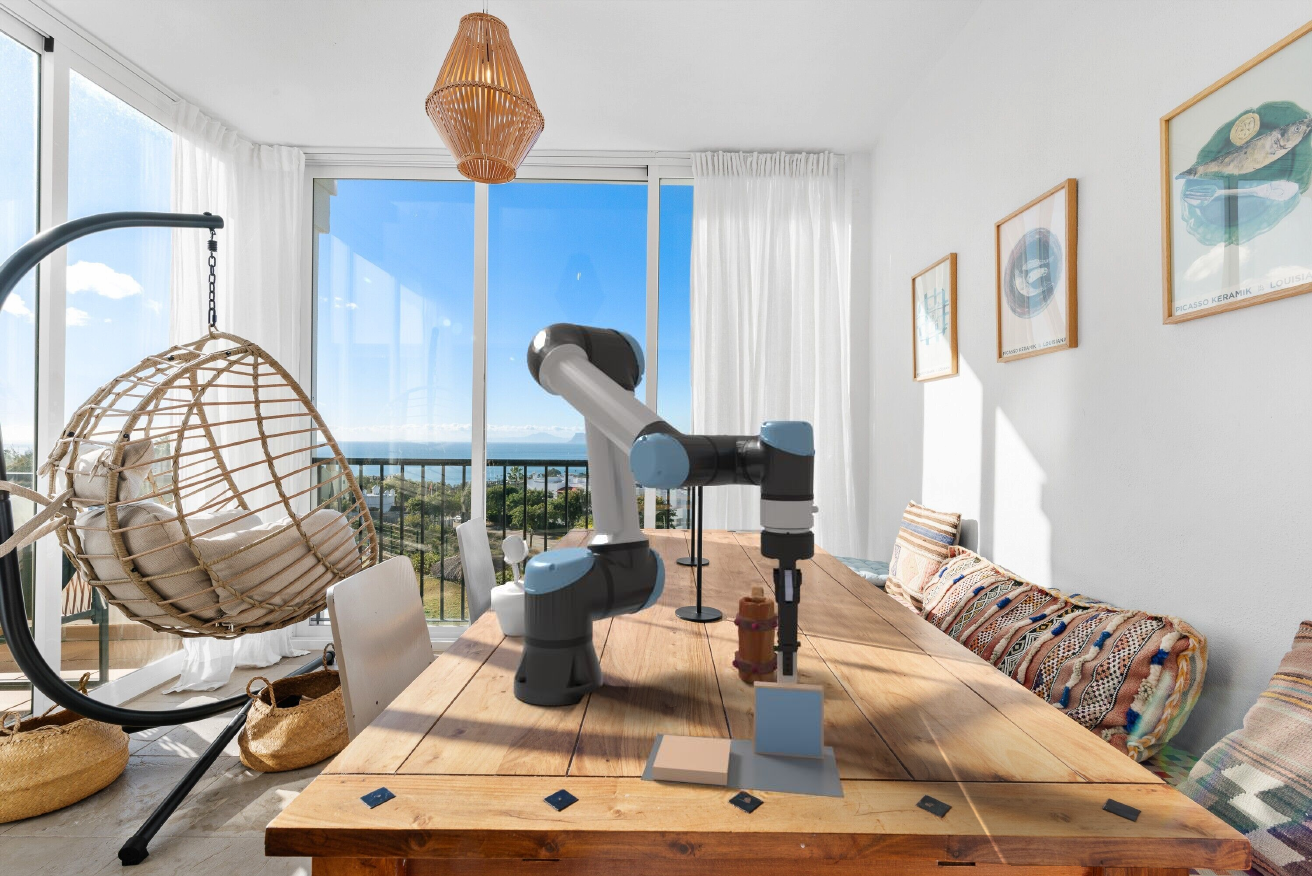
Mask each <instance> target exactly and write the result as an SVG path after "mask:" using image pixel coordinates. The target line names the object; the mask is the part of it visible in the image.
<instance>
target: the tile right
mask: <svg viewBox="0 0 1312 876" xmlns="http://www.w3.org/2000/svg"><path fill="white" fill-rule="evenodd" d="M824 690H825V689H824V686H823V685H822V684H805V683H804V684H803V683H797V684H792V683H777V682H775V681H774V682H771V681H767V682H759V681H754V683H753V741H754V753H756V754H769V755H781V756H794V757H807V758H820V759H824V746H825V745H824V744H825V743H824V739H825V738H824V736H825V735H824V732H825V728H824V727H825V725H824V720H825V719H824V716H825V713H824V712H825V711H824V710H825V709H824V707H825V706H824V705H825V703H824V702H825V701H824V699H825V698H824V697H825V696H824V695H825V694H824V692H825V691H824Z"/></svg>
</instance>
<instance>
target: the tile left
mask: <svg viewBox="0 0 1312 876" xmlns="http://www.w3.org/2000/svg"><path fill="white" fill-rule="evenodd" d="M675 735H676V734H670V735H664V736H663V739H662V742H661V745H660V748H659V751H658V753H657V756H656V759H655V762H654V765H653V779H658V780H669V781H681V782H692V783H704V784H715V785H727V781H728V772H729V764H730V755H731V740H728V739H729V738H723V739H715V738H716V737H710V738H701V737H702V736H697V737H688V736H689V735H684V736H675Z"/></svg>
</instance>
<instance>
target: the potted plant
mask: <svg viewBox="0 0 1312 876" xmlns="http://www.w3.org/2000/svg"><path fill="white" fill-rule="evenodd" d="M530 533H531V534H533V530H531V532H530ZM537 547H540V542H539V541H538V546H537ZM534 549H536V544H535V545H534ZM501 550H502V551H503V554H504V558H503V561H504V562H505V563H506V564H507V565H511V568H512V573H513V581H506V583H505V584H503V585H498V586H495V587H492V589H491V590H490V602H491V603H490V609H491V610H493V611H494V612H495V615H496V618H497V619H498V624H499V627H500V629H501V632H502V633H503V634H505V635H506V636H508V637H524V587H523V584H524V580H520V571H519V566H518V563H521V562H522V561H524V560H525V559H526V557H527V556H528V555H529V553H530V550H529V547H528V545H527V540H526V539H525V540H523V538H522V536H520V535H519V534H513V535H508V536H507V537H506V538H505V539H503V540H502V544H501Z"/></svg>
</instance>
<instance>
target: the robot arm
mask: <svg viewBox="0 0 1312 876" xmlns="http://www.w3.org/2000/svg"><path fill="white" fill-rule="evenodd" d="M526 364H527V369H528V371H529V373H530V375H531V377H532V378H533V380H534V381H535V382H536V384H538V386H540V387H541V388H542V389H543V390H545V392H547V393H549V394H550V395H553V396H559V397H561V398H562V399H564V400H565V402H567V403H568V404H569V405H570V406H572V407H573V409H575V410H576V411H577V412H578V413H579V414H581V415H582V416H583V417H584V429H585V440H586V441H585V442H586V454H587V464H588V465H587V466H588V475H589V476H588V477H589V486H590V487H589V489H590V499H591V510H592V525H593V536H592V537H591V538H590V539H589V540H588V542H587V543H586V546H587V547H586V548H585V547H579V546H578V547H577V546H576V547H575V546H574V547H565V548H555V549H550V550H547V551H543V552H540V553H537V554H536V555H534V556H532V557H531V558H530V559H529V560H528V561H527V563H526V564H525V569H524V578H523V579H524V580H523V581H524V584H523V587H524V636H523V637H524V638H523V639H524V643H523V644H524V645H523V649H522V652H521V654H520V658H519V660H518V665H517V667H516V670H515V673H514V676H513V694H514V696H515V697H516V698H517V699H518V700H520V701H523V702H526V703H528V704H533V705H541V706H565V705H566V706H567V705H572V704H577V703H581V702H582V700H583V698H584V697H585V696H586V695H589V694H590V693H593V692H595V691H597V690H598V689H600V688H601V687H602V686H604V683H603V682H604V675H603V671H602V667H601V665H600V662H599V658H598V655H597V652H596V648H595V645H594V640H593V639H594V638H593V637H594V636H593V635H594V633H593V630H594V622H597V621H601V620H606V619H611V618H614V617H619V616H623V615H633V614H637V613H639V612H641V611H644V610H648V609H651V607H653V606H654V605H655V604H657V601H658V600H659V599H660V598H661V596H662V595H663V592H664V588H665V585H666V568H665V567H666V566H665V564H664V561H663V558H661V557H660V554H659V552H658V551H657V550H656V549H654V548H652V547H651V546H650V538H649V537H648V535H646V534H645V533H644V532H643V531H642V530H641V529H640V528H641V527H640V517H639V516H640V515H639V505H638V495H637V485H636V483H638V484H639V485H640V486H642V487H644V488H647V489H659V490H664V491H665V490H673V489H681V488H692V487H693V488H694V487H710V486H714V487H715V486H728V485H729V486H730V485H731V486H735V485H739V486H740V485H741V486H743V485H744V486H757V487H760V492H759V493H760V497H759V525H760V526H761V527H762V528H764V529H762V530H761V532H760V554H761V556H762V557H764V558H766V559H770V560H777V561H778V567H773V568H772V579H773V583H774V597H775V598H774V600H775V601H774V602H775V603H777V616H778V620H777V624H778V626H777V632H776V636H777V640H776V642H777V645H774V646H773V651H774V652H776V653H777V669H776V671H777V672H776V673H777V682H776V683H792V684H798V651H799V648H801V647H802V643H801V641H799V640H798V634H799V633H798V630H799V629H798V626H799V625H798V624H799V623H798V621H799V620H798V619H799V616H798V615H799V604H800V603H801V587H802V586H801V585H802V584H803V572H802V571H801V568H797V561H806V560H810V559H811V558H813V557H814V555H815V533H813V531H812V530H810V529H812V528H814V526H815V516H814V515H813V514H816V513H817V514H818V512H819V507H818V505H814V504H815V502H814V500H815V497H814V496H815V495H814V493H815V492H814V479H815V477H814V475H815V457H816V449H815V443H814V442H815V441H814V440H815V439H814V428H813V425H812V424H811V423H810V422H808V421H804V420H772V421H771V420H770V421H763V422H762V423H761V425H760V431H759V434H757V435H741V434H740V435H737V434H736V435H730V434H711V435H710V434H685V433H683V432H680V431H679V430H678V429H676V428H675V427H674V426H673V425H671V424H670V423H669V422H667V421H666V420H665V419H663V418H662V417H661V416H660V415H658V414H657V413H656V412H655V411H653V409H651V408H649V407H648V406H647V405H646V404H644V403H643V402H642V401H640V399H638V398H636V391H635V389H636V388H637V387H639V386H640V384H641V383H642V380H643V375H644V374H645V371H646V370H645V369H646V360H645V356H644V351H643V348H642V346H641V344H640V343H639V342H638V341H637V339H636V338H635V337H634V336H632V335H631V334H630V333H628V332H625V331H620V330H617V329H614V328H611V327H607V328H602V327H595V326H589V325H583V324H575V323H568V322H559V323H556V322H555V323H553V324H549V325H548V326H545V327H543V328H542V329H540V330H539V331H538V332H537V333H536V334H535V335H534V336H533V337H532V339H531V341H530V343H529V345H528V348H527V352H526Z"/></svg>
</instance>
